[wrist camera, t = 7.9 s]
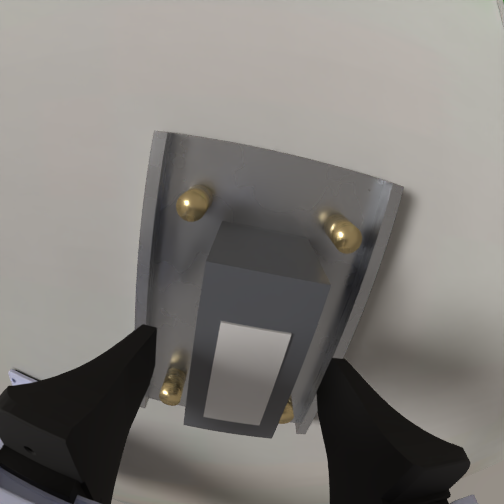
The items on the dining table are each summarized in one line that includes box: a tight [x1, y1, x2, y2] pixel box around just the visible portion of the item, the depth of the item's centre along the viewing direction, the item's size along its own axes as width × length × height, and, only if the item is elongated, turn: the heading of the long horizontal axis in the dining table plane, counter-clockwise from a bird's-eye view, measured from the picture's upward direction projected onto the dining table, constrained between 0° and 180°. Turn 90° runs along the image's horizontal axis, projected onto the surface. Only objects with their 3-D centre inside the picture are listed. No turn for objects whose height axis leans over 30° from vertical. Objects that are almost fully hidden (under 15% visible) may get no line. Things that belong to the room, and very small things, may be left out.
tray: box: [135, 131, 404, 434], centre depth 15 cm, size 16×11×3 cm
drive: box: [184, 221, 331, 438], centre depth 13 cm, size 8×4×5 cm, turn 168°
